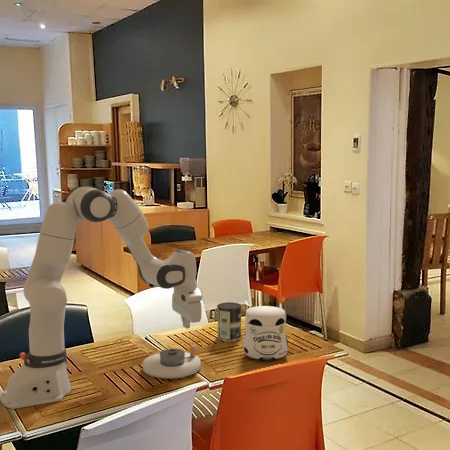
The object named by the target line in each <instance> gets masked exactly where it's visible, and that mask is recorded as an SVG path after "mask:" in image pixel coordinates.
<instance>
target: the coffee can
mask: <svg viewBox="0 0 450 450" xmlns="http://www.w3.org/2000/svg"><path fill="white" fill-rule="evenodd" d="M216 307H217V339H218V340H219V341H222V342H236V341H240V340H241V339H242V304H240V303H238V302H232V301H231V302H222V303H219V304H217V306H216Z"/></svg>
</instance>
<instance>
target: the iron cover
mask: <svg viewBox="0 0 450 450" xmlns="http://www.w3.org/2000/svg"><path fill="white" fill-rule="evenodd" d="M185 352H186V351H185V350H183V349H180V348H167V349H164V350H161V351H160V352H159V353H160V364H161V365H163V366H167V367H176V366H180V365H182V364H184V363H185Z"/></svg>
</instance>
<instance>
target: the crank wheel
mask: <svg viewBox="0 0 450 450" xmlns="http://www.w3.org/2000/svg"><path fill="white" fill-rule="evenodd" d="M196 351H197V350H196V345H194V344H193V345H190V346H189V352H186V351H184V352H185V363H184V364H182V365H180V366H176V367H167V366H163V365H161V364H160V352H158V353H155V354H152V355H150V356H147V357H146V358H145V359H144V360H143V361H142V371H143V372H144V373H145V374H146V375H148V376H151V377H153V378H158V379H180V378H185V377H189V376H192V375H193V374H196V373H197V372H198V371H200V369H201V366H202V365H201V359H200V357H199V356H198V355H196Z"/></svg>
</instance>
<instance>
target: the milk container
mask: <svg viewBox="0 0 450 450" xmlns="http://www.w3.org/2000/svg"><path fill="white" fill-rule="evenodd" d="M286 318H287V317H286V310H285V309H283V308H282V307H278V306H272V305H258V306H252V307H249V308H247V309H246V310H245V318H244V320H245V327H244V328H245V331H244V337H243V343H242V347H243V353H244V355H245V356H247V357H248V358H249V359H251V360H255V361H261V362H273V361H277V360H278V361H279V360H281V359H283V358H284V357H285V356H286V355H287V353H288V349H289V348H288V347H289V342H288V338H287V332H286V331H287V330H286V328H287V322H286Z"/></svg>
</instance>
